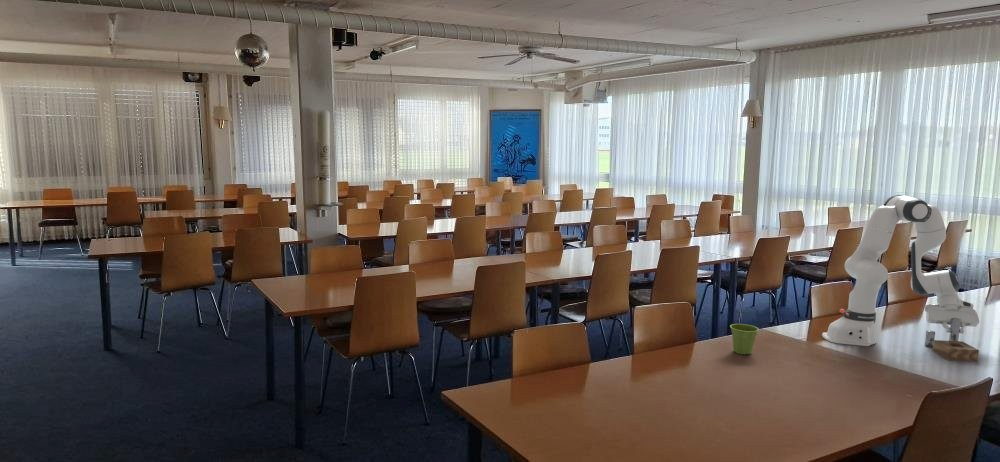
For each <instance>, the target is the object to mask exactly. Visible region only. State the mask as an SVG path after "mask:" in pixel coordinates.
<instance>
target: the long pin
mask: <svg viewBox="0 0 1000 462" xmlns="http://www.w3.org/2000/svg"><path fill="white" fill-rule="evenodd" d="M960 323H961V319H959V318H951V325H950V327H949V328H951V332H950V333H949V336H948V341H959V339H960V333H959V331H960V328H961V327H960Z"/></svg>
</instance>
